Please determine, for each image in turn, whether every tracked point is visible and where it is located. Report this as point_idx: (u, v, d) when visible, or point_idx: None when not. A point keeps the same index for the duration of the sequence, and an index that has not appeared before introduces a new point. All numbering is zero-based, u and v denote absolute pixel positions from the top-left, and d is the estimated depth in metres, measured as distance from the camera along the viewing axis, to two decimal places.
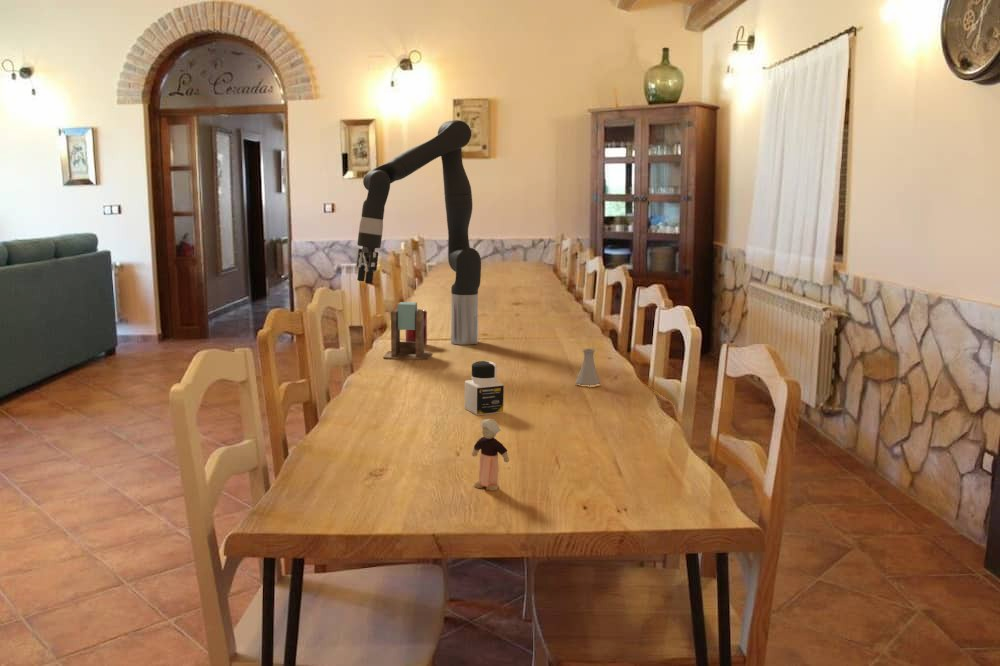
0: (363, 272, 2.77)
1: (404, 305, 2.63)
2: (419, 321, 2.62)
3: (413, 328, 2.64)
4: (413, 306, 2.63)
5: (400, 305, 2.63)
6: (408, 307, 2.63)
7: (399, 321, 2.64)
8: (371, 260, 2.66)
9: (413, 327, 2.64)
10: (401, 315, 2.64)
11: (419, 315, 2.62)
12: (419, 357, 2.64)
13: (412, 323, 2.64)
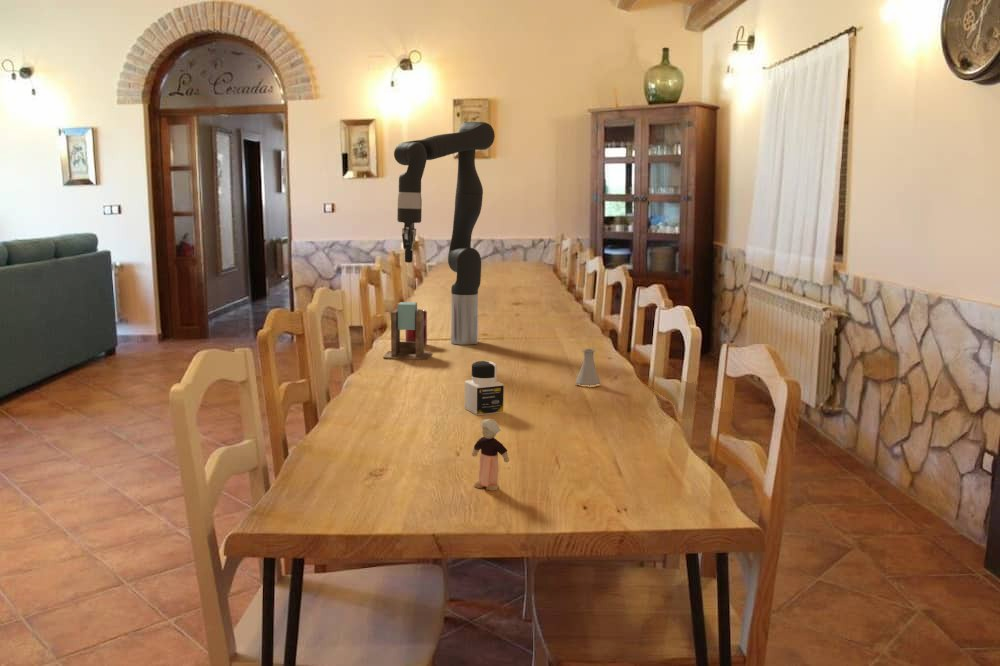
0: None
1: (404, 305, 2.63)
2: (419, 321, 2.62)
3: (413, 328, 2.64)
4: (413, 306, 2.63)
5: (400, 305, 2.63)
6: (408, 307, 2.63)
7: (399, 321, 2.64)
8: (404, 242, 2.62)
9: (413, 327, 2.64)
10: (401, 315, 2.64)
11: (419, 315, 2.62)
12: (419, 357, 2.64)
13: (412, 323, 2.64)
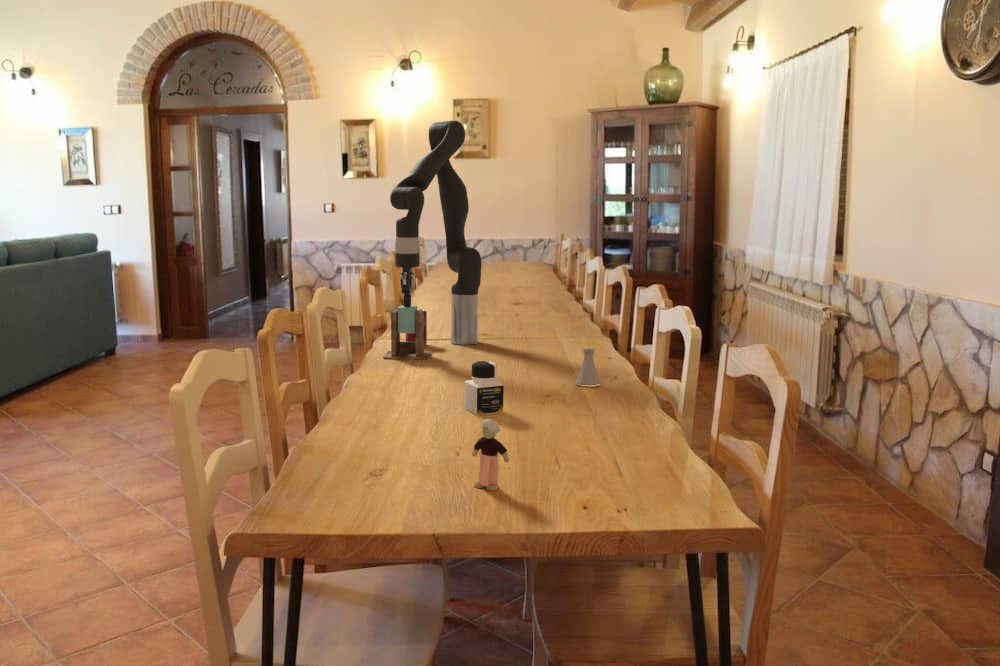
0: None
1: (404, 308, 2.63)
2: (419, 321, 2.62)
3: (413, 331, 2.64)
4: (413, 309, 2.63)
5: (400, 308, 2.63)
6: (408, 310, 2.63)
7: (399, 324, 2.64)
8: (402, 287, 2.60)
9: (413, 330, 2.64)
10: (401, 318, 2.64)
11: (419, 315, 2.62)
12: (419, 357, 2.64)
13: (412, 326, 2.64)
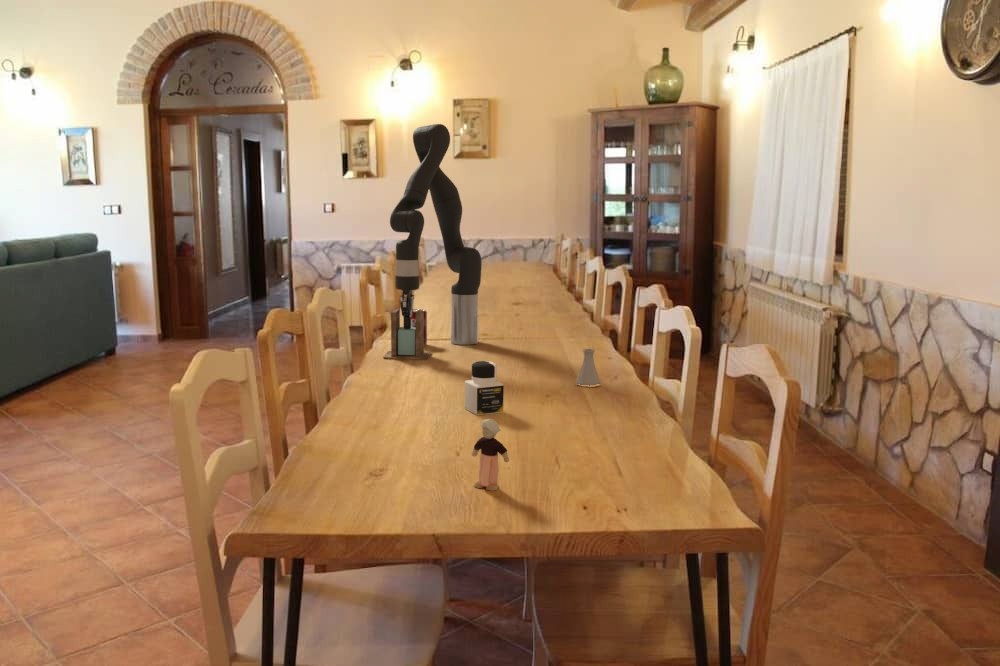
0: None
1: (404, 330, 2.64)
2: (419, 321, 2.62)
3: (413, 353, 2.65)
4: (413, 331, 2.64)
5: (400, 330, 2.64)
6: (408, 332, 2.64)
7: (399, 346, 2.65)
8: (402, 309, 2.61)
9: (413, 352, 2.65)
10: (401, 340, 2.65)
11: (419, 315, 2.62)
12: (419, 357, 2.64)
13: (412, 348, 2.65)
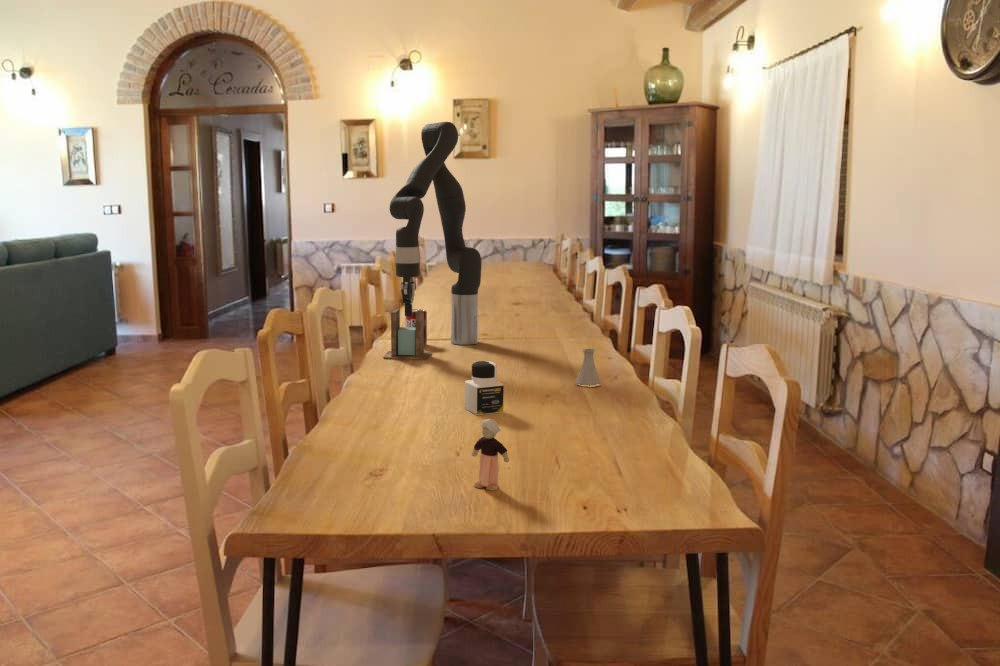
0: None
1: (404, 331, 2.64)
2: (419, 321, 2.62)
3: (413, 353, 2.65)
4: (413, 332, 2.64)
5: (400, 331, 2.64)
6: (408, 333, 2.64)
7: (399, 346, 2.65)
8: (403, 297, 2.61)
9: (413, 352, 2.65)
10: (401, 340, 2.65)
11: (419, 315, 2.62)
12: (419, 357, 2.64)
13: (412, 348, 2.65)
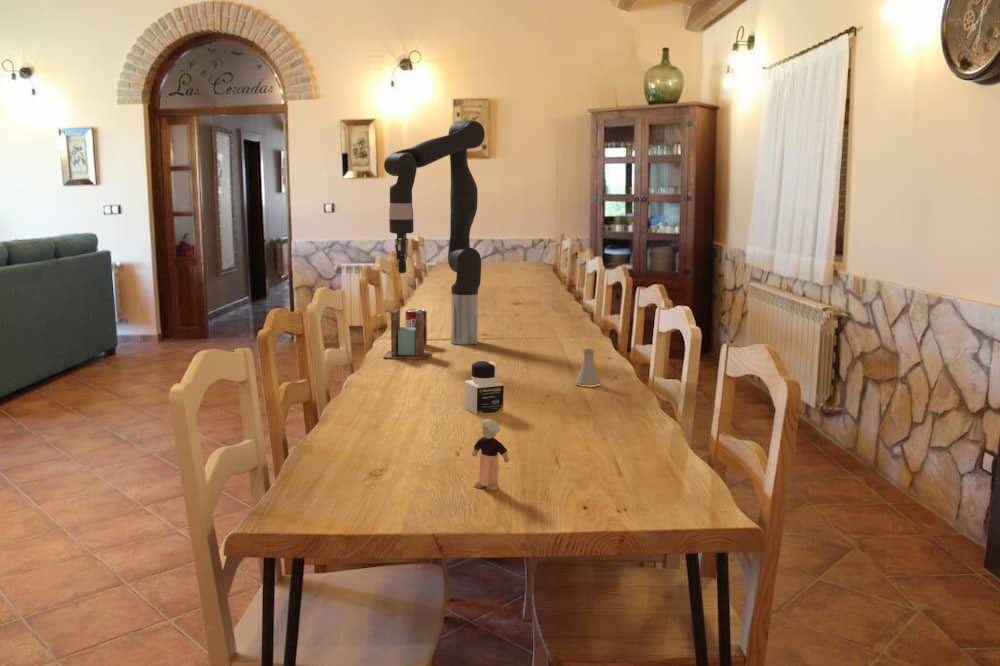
0: None
1: (404, 331, 2.64)
2: (419, 321, 2.62)
3: (413, 353, 2.65)
4: (413, 332, 2.64)
5: (400, 331, 2.64)
6: (408, 333, 2.64)
7: (399, 346, 2.65)
8: (397, 253, 2.62)
9: (413, 352, 2.65)
10: (401, 340, 2.65)
11: (419, 315, 2.62)
12: (419, 357, 2.64)
13: (412, 348, 2.65)
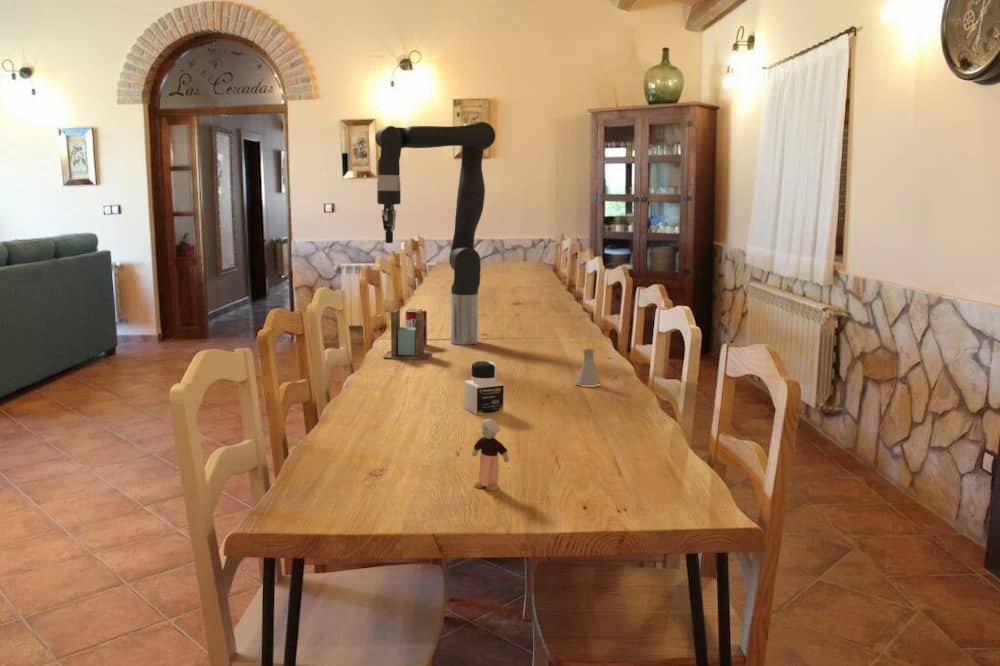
0: None
1: (404, 331, 2.64)
2: (419, 321, 2.62)
3: (413, 353, 2.65)
4: (413, 332, 2.64)
5: (400, 331, 2.64)
6: (408, 333, 2.64)
7: (399, 346, 2.65)
8: (384, 223, 2.71)
9: (413, 352, 2.65)
10: (401, 340, 2.65)
11: (419, 315, 2.62)
12: (419, 357, 2.64)
13: (412, 348, 2.65)
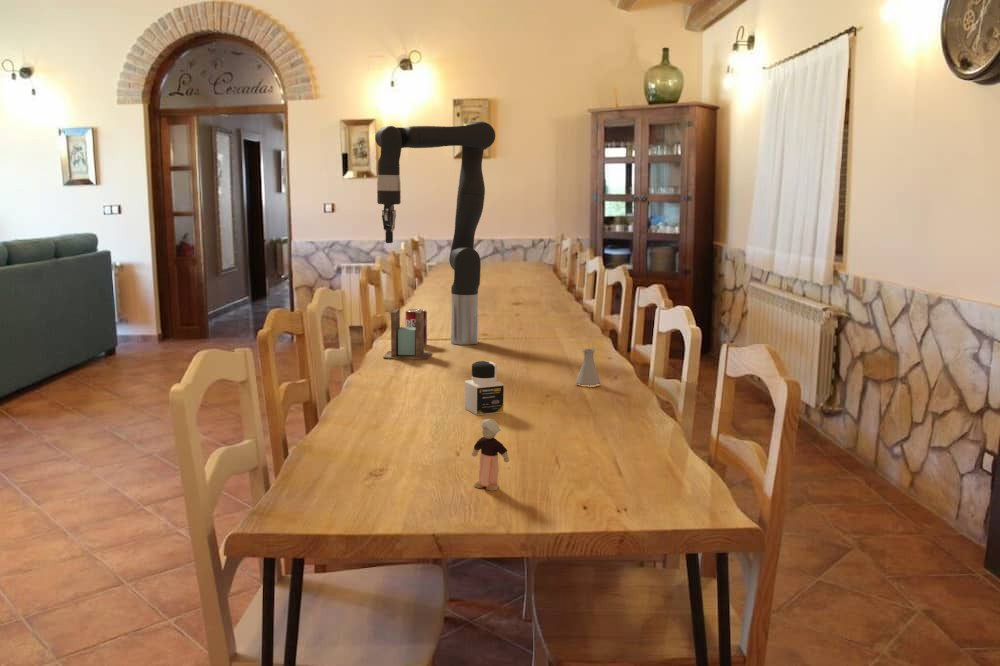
0: None
1: (404, 331, 2.64)
2: (419, 321, 2.62)
3: (413, 353, 2.65)
4: (413, 332, 2.64)
5: (400, 331, 2.64)
6: (408, 333, 2.64)
7: (399, 346, 2.65)
8: (384, 223, 2.71)
9: (413, 352, 2.65)
10: (401, 340, 2.65)
11: (419, 315, 2.62)
12: (419, 357, 2.64)
13: (412, 348, 2.65)
